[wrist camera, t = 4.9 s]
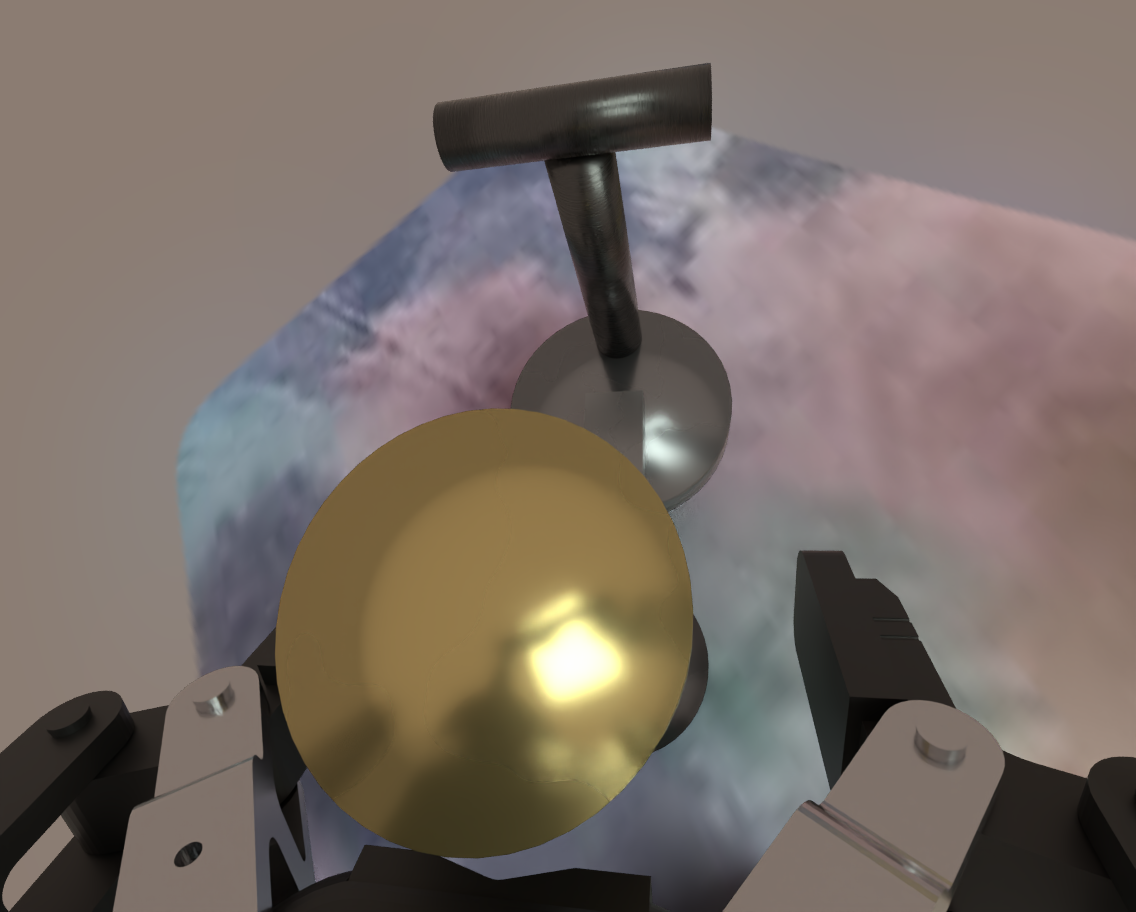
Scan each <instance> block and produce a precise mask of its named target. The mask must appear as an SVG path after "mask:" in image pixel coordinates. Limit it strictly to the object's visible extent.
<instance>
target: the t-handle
mask: <svg viewBox="0 0 1136 912" xmlns="http://www.w3.org/2000/svg"><path fill="white" fill-rule="evenodd" d="M711 85H712V82H711V64H710V63H705V64H698V65H692V66H685V67H678V68H672V69H664V70H657V71H651V72H644V73H637V74H630V75H623V76H616V77H610V78H603V79H596V80H589V81H582V82H576V83H568V84H562V85H555V86H548V87H541V88H534V89H527V90H521V91H514V92H508V93H500V94H494V95H487V96H480V97H473V98H466V99H459V100H452V101H446V102H439V103H437V104H436V105H435V108H434V113H433V127H434V135H435V140H436V145H437V148H438V152H439V155H440V157H441V160H442V162H443V164H444V166H445V167H446V169H447V170H448V171H450V172H455V171H463V170H472V169H480V168H488V167H496V166H504V165H513V164H521V163H529V162H537V161H545V165H546V168H547V172H548V175H549V179H550V183H551V186H552V190H553V193H554V197H555V200H556V204H557V207H558V211H559V214H560V218H561V221H562V225H563V229H564V232H565V236H566V239H567V243H568V246H569V250H570V253H571V257H572V260H573V264H574V268H575V271H576V275H577V278H578V282H579V285H580V289H581V292H582V296H583V299H584V303H585V306H586V310H587V314H588V317H585V318H582V319H579V320H577V321H575V322H573V323H571V324H569V325H567V326H566V327H564V328H562V329H561V330H559V331H558V332H556V333H555V334H554V335H552V336H551V337H550V338H549V339H547V340H546V341H545V342H544V343H543V344H542V345H541V346H540V347H539V348H538V349H537V350H536V351H535V353H534V354H533V355H532V357H531V358H530V359H529V360H528V362H527V364H526V365H525V367H524V369H523V370H522V372H521V374H520V376H519V379H518V381H517V383H516V386H515V390H514V393H513V397H512V403H511V409H519V410H526V411H533V412H539V413H543V414H547V415H550V416H554V417H557V418H561V419H564V420H566V421H568V422H571V423H573V424H575V425H578V426H580V427H582V428H585V429H587V430H588V431H590V432H591V433H593V434H595V435H596V436H598V437H600V438H601V439H603V440H605V441H606V442H608V443H609V444H610V445H612V446H613V447H614V448H615V449H616V450H618V451H619V452H620V453H621V454H623V455H624V456H625V457H626V458H627V459H628V460H629V461H630V462H631V463H632V464H633V465H634V466H635V467H636V468H637V469H638V470H639V471H640V472H641V473H642V474H643V476H644V477H645V478H646V479H647V481H648V482H649V483H650V485H651V486H652V488H653V489H654V490H655V492H656V493H657V495H658V496H659V497H660V499H661V500H662V502H663V504H664V506H665V508H666V510H667V512H668V511H671V510H673V509H675V508H677V507H678V506H680V505H681V504H683V503H684V502H686V501H687V500H689V499H690V498H691V497H692V496H693V495H695V494H696V493H697V492H698V491H699V490H700V489H701V488H702V487H703V486H704V485H705V484H706V483H707V481H708V480H709V479H710V477H711V476H712V475H713V473H714V472H715V470H716V469H717V467H718V465H719V463H720V461H721V459H722V457H723V454H724V451H725V448H726V445H727V440H728V434H729V428H730V420H731V413H732V397H731V389H730V384H729V381H728V377H727V374H726V371H725V369H724V367H723V365H722V362H721V361H720V359H719V357H718V356H717V354H716V353H715V351H714V350H713V349H712V347H711V346H710V345H709V344H708V343H707V342H706V341H705V340H704V339H703V338H702V337H701V336H700V335H699V334H698V333H696V332H695V331H694V330H692V329H691V328H689V327H688V326H686V325H685V324H683V323H681V322H679V321H677V320H675V319H673V318H670V317H667V316H664V315H661V314H658V313H653V312H649V311H641V310H638V304H637V298H636V291H635V284H634V277H633V270H632V263H631V256H630V250H629V243H628V236H627V229H626V222H625V215H624V208H623V201H622V195H621V188H620V181H619V174H618V167H617V160H616V153H615V152H619V151H627V150H636V149H644V148H652V147H660V146H668V145H677V144H685V143H693V142H701V141H709V140H711V125H712V86H711Z"/></svg>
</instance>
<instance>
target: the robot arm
mask: <svg viewBox="0 0 1136 912" xmlns="http://www.w3.org/2000/svg"><path fill="white" fill-rule="evenodd" d="M794 638H795V646H796V652H797V656H798V660H799V664H800V668H801V672H802V676H803V680H804V685H805V689H806V693H807V697H808V701H809V705H810V709H811V713H812V717H813V721H814V725H815V729H816V733H817V737H818V742H819V746H820V750H821V754H822V758H823V762H824V766H825V770H826V774H827V778H828V782H829V786H830V790H831V791H830V793H829V794H828V795H827V797H826V798H825V800H824V801H823V802H822V803H821V804H820V805H817V804H816V803H814V802H813V801H811V800H808V801H806V802H804V803H803V804H802V805H801V806H800V807H799V808H798V809H797V810H796V811H795V812H794V814H793V815H792V816H791V818H790V819H789V821H788V822H787V823H786V825H785V826H784V827H783V829H782V830H781V832H780V833H779V834H778V836H777V837H776V838H775V840H774V841H773V843H772V844H771V845H770V847H769V848H768V850H767V851H766V852H765V854H764V855H763V856H762V858H761V859H760V861H759V862H758V863H757V865H756V866H755V867H754V869H753V870H752V872H751V873H750V874H749V876H748V877H747V879H746V880H745V881H744V883H743V884H742V885H741V887H740V888H739V890H738V891H737V892H736V894H735V895H734V896H733V898H732V899H731V901H730V902H729V903H728V905H727V906H726V908H725V909H724V910H723V912H1136V758H1134V757H1111V758H1107V759H1103V760H1101V761H1099V762H1098V763H1096V764H1095V765H1094V766H1093V767H1092V768H1091V770H1090V772H1089V775H1088V778H1084V777H1080V776H1077V775H1073V774H1070V773H1067V772H1063V771H1060V770H1056V769H1053V768H1050V767H1046V766H1043V765H1040V764H1036V763H1033V762H1030V761H1027V760H1024V759H1021V758H1019V757H1016V756H1014V755H1012V754H1009V753H1007V752H1005V751H1003V750H1002V749H1001V747H1000V745H999V743H998V742H997V740H996V739H995V738H994V736H993V735H992V734H991V733H990V732H989V731H988V730H987V729H986V728H985V727H984V726H983V725H982V724H980V723H979V722H978V721H976V720H975V719H973V718H972V717H970V716H969V715H967V714H965V713H963V712H961V711H960V710H957V709H956V707H955V706H954V704H953V702H952V700H951V698H950V696H949V694H948V692H947V690H946V688H945V686H944V684H943V682H942V681H941V679H940V677H939V675H938V673H937V671H936V669H935V667H934V665H933V663H932V661H931V659H930V658H929V656H928V654H927V652H926V650H925V648H924V646H923V644H922V642H921V641H919V639H918V634H917V633H916V631H915V629H914V627H913V625H912V623H910V622H909V617H908V615H907V613H906V611H905V609H904V608H903V606H902V604H901V602H900V600H899V598H898V597H897V596H896V595H895V594H894V593H892V592H891V591H890V590H889V589H888V588H886V587H885V586H884V585H883V584H882V583H880V582H879V581H878V580H877V579H858V578H855V577H854V574H853V572H852V570H851V568H850V565H849V563H848V561H847V558H846V556H845V554H844V552H843V551H799V553H798V558H797V571H796V587H795V604H794ZM275 643H276V628H275V629H274V630H273V631H272V632H271V633H270V634H269V636H268V637H267V638H266V639H265V640H264V641H263V642H262V643H261V644H260V645H259V647H258V648H257V649H256V650H255V651H254V652H253V653H252V654H251V655H250V657H249V658H248V659H247V660H246V661H245V662H244V663H243V664H242V665H241V666H232V667H226V668H222V669H219V670H216V671H213V672H211V673H208V674H206V675H204V676H202V677H200V678H198V679H197V680H195V681H193V682H192V683H190V684H189V685H188V686H186V687H185V688H184V689H183V690H182V691H180V692H179V693H178V694H177V696H176V697H175V698H174V699H173V700H172V702H171V703H170V705H168V706H162V707H157V708H153V709H147V710H142V711H137V712H133V713H129V711H128V709H127V707H126V705H125V704H124V702H123V700H122V698H121V696H120V695H119V694H117V693H116V692H112V691H98V692H92V693H88V694H85V695H82V696H79V697H76V698H74V699H72V700H69V701H67V702H65V703H63V704H61V705H60V706H58V707H56V708H54V709H53V710H51V711H49V712H48V713H47V714H45V715H44V716H42V717H41V718H40V719H39V720H37V721H36V722H35V723H34V724H33V725H32V726H31V727H29V728H28V729H27V730H26V731H25V732H24V733H23V734H21V735H20V736H19V737H18V738H17V739H16V740H15V741H14V742H13V743H11V744H10V745H9V746H8V747H7V748H6V749H5V750H4V751H2V752H1V753H0V912H8V910H7V909H6V908H5V906H4V904H3V901H2V892H3V887H4V884H5V881H6V879H7V877H8V875H9V873H10V871H11V870H12V868H13V867H14V866H15V864H16V863H17V862H18V861H19V860H20V859H21V858H22V857H23V855H24V854H25V853H26V852H27V851H28V850H29V849H30V848H31V847H32V846H33V844H34V843H35V842H36V841H37V840H38V839H39V838H40V837H41V836H42V835H43V834H44V833H45V831H46V830H47V829H48V828H49V827H50V826H51V825H52V824H53V823H54V822H55V821H56V819H57V818H58V817H59V816H60V815H61V816H62V818H63V819H64V821H65V822H66V824H67V825H68V827H69V828H70V830H71V832H72V833H73V835H74V837H73V838H72V839H71V841H70V842H69V843H68V844H67V845H66V846H65V848H64V849H63V850H62V851H61V852H60V853H59V854H58V856H57V857H56V858H55V859H54V861H52V863H51V864H50V865H49V866H48V867H47V868H46V870H45V871H44V872H43V873H42V874H41V875H40V876H39V878H38V879H37V880H36V881H35V882H34V883H33V885H32V886H31V887H30V888H29V889H28V890H27V891H26V893H25V894H24V895H23V896H22V897H21V898H20V900H19V901H18V902H17V903H16V904H15V905H14V907H13V908H12V909H11V910H10V911H9V912H670V911H669V910H666V909H664V908H662V907H660V906H657V905H655V904H653V901H652V887H651V876H643V875H634V874H625V873H616V872H607V871H598V870H589V869H580V868H572V869H566V870H560V871H554V872H547V873H541V874H535V875H529V876H523V877H516V878H510V879H504V880H495V879H491V878H488V877H485V876H483V875H481V874H479V873H476V872H474V871H472V870H470V869H467V868H465V867H463V866H461V865H458V864H456V863H454V862H452V861H449V860H447V859H445V858H443V857H440V856H437V855H432V854H427V853H422V852H417V851H414V850H408V849H399V848H390V847H381V846H372V845H364V847H363V850H362V852H361V854H360V856H359V858H358V860H357V862H356V864H355V866H354V869H353V871H348V872H344V873H341V874H337V875H334V876H331V877H328V878H326V879H323V880H321V881H319V882H315V876H314V869H313V861H312V853H311V845H310V837H309V829H308V821H307V813H306V805H305V797H304V790H303V787H302V784H301V782H300V777H301V776H302V774H303V773H304V771H305V770H306V768H307V766H306V765H305V763H304V761H303V759H302V757H301V755H300V753H299V751H298V749H297V747H296V745H295V743H294V741H293V739H292V736H291V733H290V730H289V727H288V724H287V722H286V719H285V716H284V713H283V709H282V704H281V699H280V694H279V689H278V684H277V674H276V661H275Z"/></svg>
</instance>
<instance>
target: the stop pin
mask: <svg viewBox="0 0 1136 912" xmlns="http://www.w3.org/2000/svg"><path fill="white" fill-rule="evenodd" d="M275 661H276V674H277V684H278V689H279V694H280V699H281V704H282V709H283V713H284V716H285V719H286V722H287V724H288V727H289V730H290V733H291V736H292V739H293V741H294V743H295V745H296V747H297V749H298V751H299V753H300V755H301V757H302V759H303V761H304V763H305V765H306V766H307V767H308V769H309V770H310V772H311V773H312V775H313V776H314V778H315V779H316V781H317V782H318V784H319V785H320V786H321V788H322V789H323V790H324V791H325V792H326V793H327V794H328V795H329V796H330V797H331V799H332V800H333V801H334V802H335V803H336V804H337V805H338V806H339V807H340V808H341V809H342V810H343V811H344V812H346V813H347V814H348V815H349V816H351V817H352V818H353V819H355V820H356V821H357V822H358V823H360V824H361V825H362V826H363V827H365V828H367V829H369V830H370V831H372V832H374V833H376V834H377V835H379V836H381V837H383V838H384V839H386V840H388V841H390V842H393V843H395V844H398V845H401V846H404V847H406V848H409V849H412V850H414V851H417V852H422V853H427V854H432V855H437V856H442V857H451V858H484V857H492V856H500V855H507V854H512V853H515V852H518V851H522V850H525V849H529V848H532V847H536V846H539V845H541V844H544V843H546V842H548V841H550V840H552V839H554V838H556V837H558V836H561V835H563V834H565V833H567V832H569V831H571V830H572V829H574V828H575V827H577V826H578V825H580V824H581V823H583V822H584V821H586V820H587V819H589V818H590V817H592V816H593V815H595V814H596V813H598V812H599V811H600V810H601V809H602V808H603V807H604V806H606V805H607V804H608V803H609V802H610V801H611V800H612V799H613V798H615V797H616V796H617V795H618V794H619V793H620V792H621V791H622V790H623V789H624V788H625V787H626V786H627V784H628V783H629V782H630V781H631V780H632V779H633V777H634V776H635V775H636V774H637V773H638V771H639V770H640V769H641V768H642V767H643V765H644V764H645V763H646V761H647V760H648V758H649V756H650V755H651V753H652V752H654V751H657V750H659V749H661V748H663V747H665V746H666V745H668V744H669V743H671V742H672V741H674V740H675V739H676V738H677V737H678V736H679V735H680V734H681V733H682V732H683V731H684V730H685V729H686V728H687V727H688V725H689V724H690V723H691V721H692V720H693V718H694V717H695V715H696V713H697V712H698V710H699V707H700V705H701V703H702V701H703V697H704V694H705V691H706V686H707V680H708V653H707V648H706V643H705V639H704V636H703V633H702V631H701V628H700V626H699V624H698V622H697V620H696V618H695V616H694V615H693V605H692V593H691V582H690V576H689V572H688V567H687V563H686V559H685V554H684V550H683V547H682V545H681V542H680V539H679V537H678V534H677V531H676V528H675V526H674V523H673V521H672V519H671V518H670V516H669V514H668V512H667V510H666V508H665V506H664V504H663V502H662V500H661V499H660V497H659V496H658V495H657V493H656V492H655V490H654V489H653V488H652V486H651V485H650V483H649V482H648V481H647V479H646V478H645V477H644V476H643V474H642V473H641V472H640V471H639V470H638V469H637V468H636V467H635V466H634V465H633V464H632V463H631V462H630V461H629V460H628V459H627V458H626V457H625V456H624V455H623V454H621V453H620V452H619V451H618V450H616V449H615V448H614V447H613V446H612V445H610V444H609V443H608V442H606V441H605V440H603V439H601V438H600V437H598V436H596V435H595V434H593V433H591V432H590V431H588V430H587V429H585V428H582V427H580V426H578V425H575V424H573V423H571V422H568V421H566V420H564V419H561V418H557V417H554V416H550V415H547V414H543V413H539V412H533V411H526V410H519V409H494V408H492V409H482V410H472V411H465V412H461V413H457V414H452V415H448V416H444V417H441V418H438V419H435V420H432V421H430V422H427V423H424V424H421V425H419V426H417V427H415V428H413V429H411V430H409V431H407V432H405V433H403V434H401V435H399V436H397V437H396V438H394V439H392V440H391V441H389V442H388V443H386V444H384V445H383V446H381V447H380V448H378V449H377V450H376V451H374V452H373V453H372V454H371V455H369V456H368V457H367V458H366V459H364V460H363V461H362V462H361V463H359V464H358V465H357V466H356V467H355V468H354V469H353V470H352V471H351V472H350V473H349V474H348V475H347V476H346V477H345V478H344V479H343V480H342V481H341V482H340V483H339V484H338V486H337V487H336V488H335V489H334V490H333V492H332V493H331V494H330V495H329V497H328V498H327V499H326V500H325V501H324V503H323V504H322V506H321V507H320V509H319V510H318V512H317V513H316V515H315V516H314V518H313V520H312V521H311V523H310V524H309V526H308V528H307V530H306V532H305V534H304V536H303V538H302V540H301V542H300V543H299V545H298V547H297V550H296V552H295V555H294V557H293V560H292V563H291V565H290V568H289V570H288V573H287V577H286V580H285V584H284V588H283V592H282V595H281V599H280V605H279V611H278V618H277V625H276V643H275Z"/></svg>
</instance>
